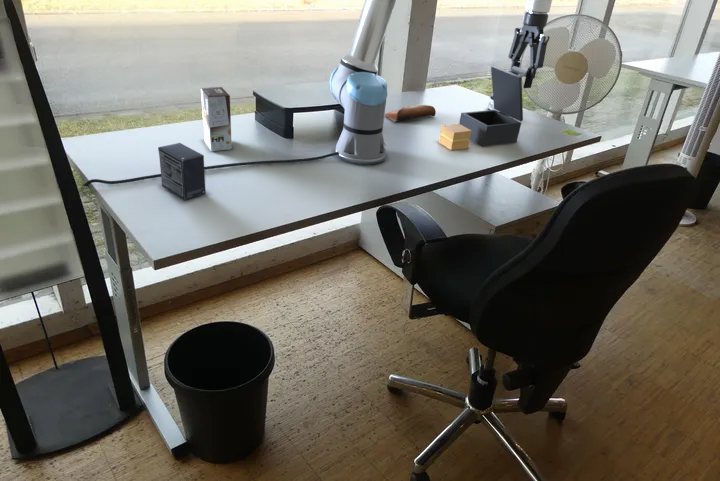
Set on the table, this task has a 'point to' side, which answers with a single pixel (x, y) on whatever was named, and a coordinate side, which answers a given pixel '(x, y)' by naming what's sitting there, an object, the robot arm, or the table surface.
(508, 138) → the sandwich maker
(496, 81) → the grill lid
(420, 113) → the sunglasses case
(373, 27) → the robot arm
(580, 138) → the table surface
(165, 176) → the small box
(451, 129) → the toast sandwich
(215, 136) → the coffee box
